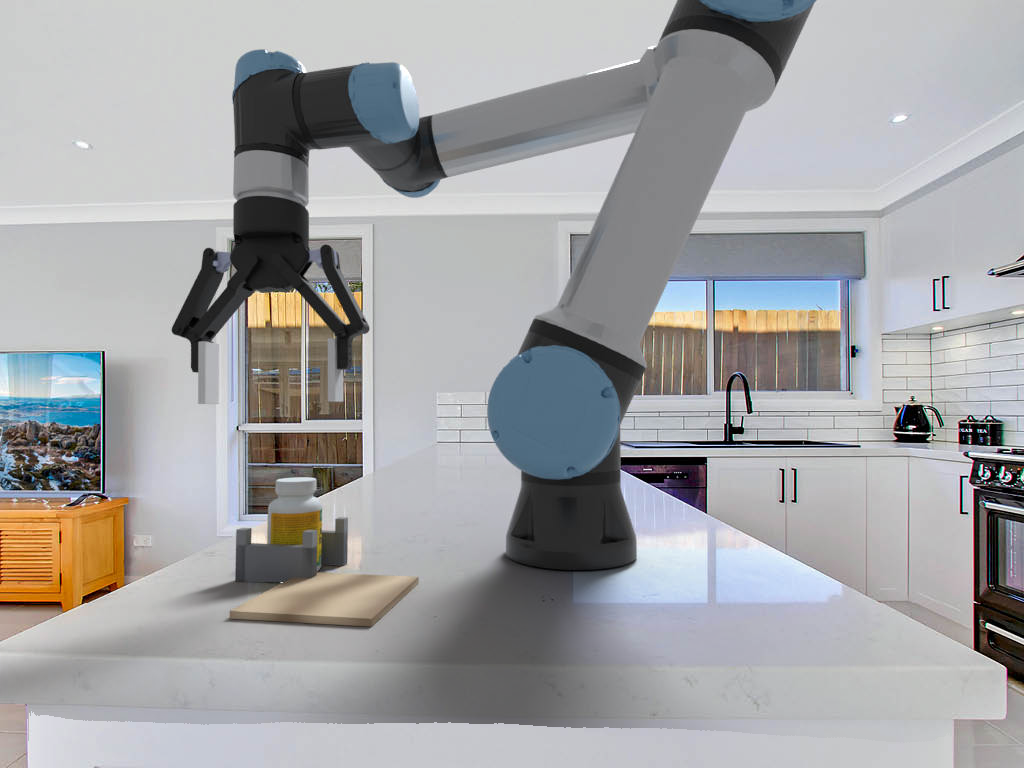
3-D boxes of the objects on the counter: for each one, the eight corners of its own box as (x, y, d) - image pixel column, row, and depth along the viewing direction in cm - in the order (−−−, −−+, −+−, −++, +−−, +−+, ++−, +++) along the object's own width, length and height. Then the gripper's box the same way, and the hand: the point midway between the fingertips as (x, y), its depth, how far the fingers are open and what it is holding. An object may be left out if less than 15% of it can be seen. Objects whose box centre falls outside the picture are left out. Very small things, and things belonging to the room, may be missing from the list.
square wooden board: (418, 583, 59) (418, 576, 59) (371, 626, 47) (371, 618, 47) (302, 577, 60) (302, 571, 60) (229, 618, 49) (229, 610, 49)
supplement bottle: (259, 570, 63) (261, 478, 64) (310, 562, 67) (311, 475, 67) (276, 582, 59) (278, 483, 59) (329, 573, 62) (331, 479, 63)
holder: (347, 563, 66) (347, 517, 66) (311, 584, 58) (312, 532, 58) (279, 560, 67) (280, 515, 68) (235, 580, 59) (236, 529, 60)
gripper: (395, 213, 68) (397, 401, 67) (178, 219, 69) (176, 405, 68) (378, 188, 61) (380, 399, 60) (135, 195, 61) (132, 404, 60)
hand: (272, 403), depth 64 cm, fingers open, 13 cm apart
